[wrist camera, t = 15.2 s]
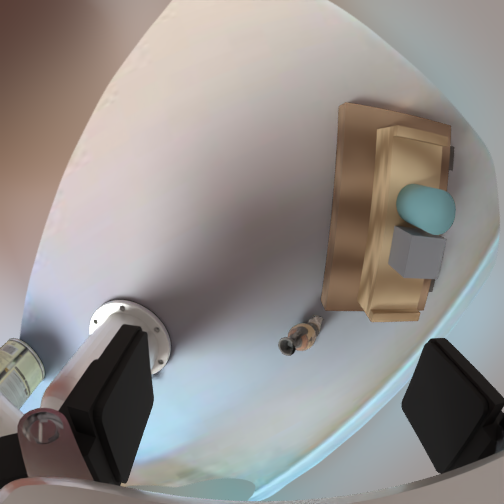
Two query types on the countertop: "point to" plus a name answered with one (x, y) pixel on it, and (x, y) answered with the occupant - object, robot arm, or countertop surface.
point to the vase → (300, 336)
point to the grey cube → (416, 253)
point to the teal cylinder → (426, 208)
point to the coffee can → (19, 371)
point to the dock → (363, 198)
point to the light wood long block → (395, 219)
